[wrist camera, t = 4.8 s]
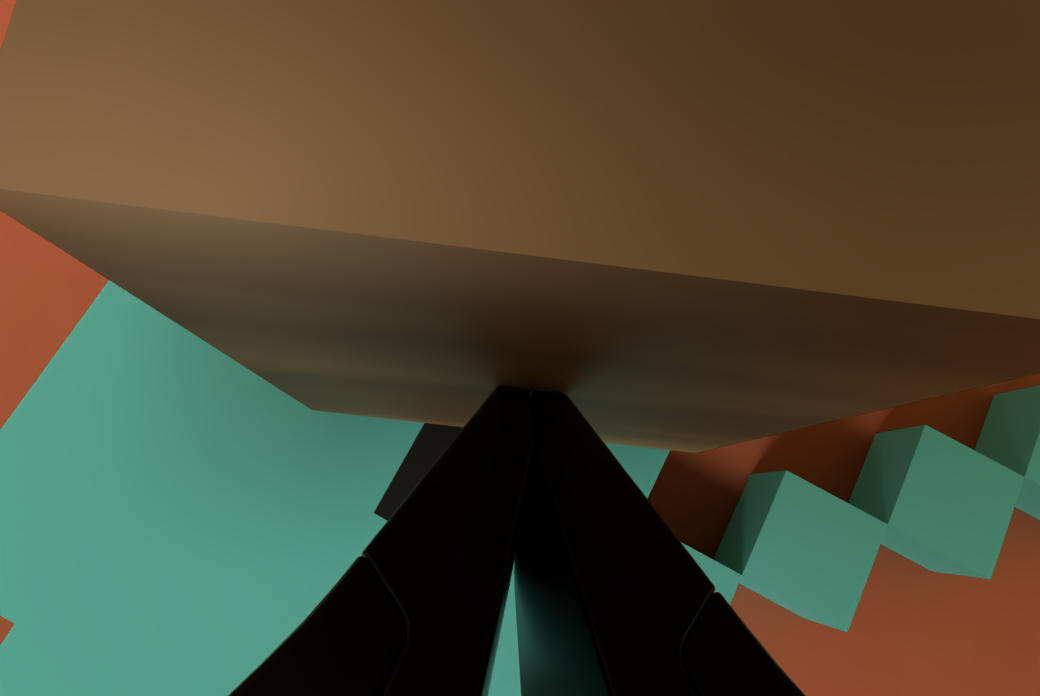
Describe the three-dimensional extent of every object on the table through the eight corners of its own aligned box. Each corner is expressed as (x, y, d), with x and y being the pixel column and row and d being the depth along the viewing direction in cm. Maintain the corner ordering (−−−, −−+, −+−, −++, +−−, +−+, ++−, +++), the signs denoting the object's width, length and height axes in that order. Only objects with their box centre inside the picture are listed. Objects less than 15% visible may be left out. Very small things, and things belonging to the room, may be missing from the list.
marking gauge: (695, 452, 13) (1189, 337, 4) (267, 405, 12) (-199, 164, 4) (712, 71, 15) (1079, -569, 6) (339, 19, 14) (144, -755, 6)
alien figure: (1063, 441, 17) (333, 58, 17) (1153, 432, 15) (316, -5, 15) (733, 1469, 12) (-247, 891, 13) (793, 1679, 10) (-391, 969, 11)
